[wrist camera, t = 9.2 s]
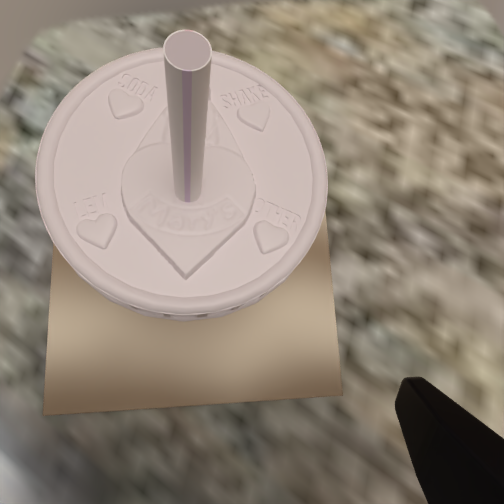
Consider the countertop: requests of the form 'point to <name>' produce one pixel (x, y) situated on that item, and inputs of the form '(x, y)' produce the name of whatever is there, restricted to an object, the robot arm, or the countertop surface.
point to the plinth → (192, 347)
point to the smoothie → (181, 181)
